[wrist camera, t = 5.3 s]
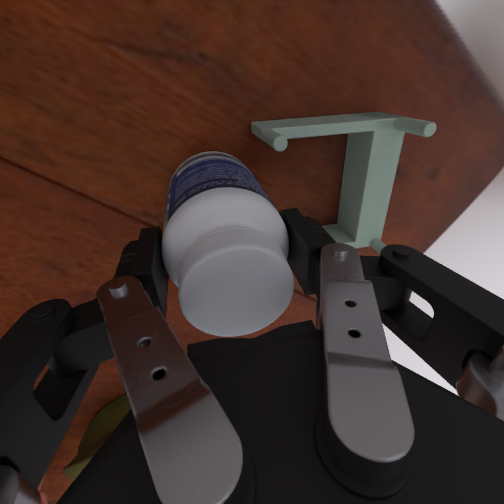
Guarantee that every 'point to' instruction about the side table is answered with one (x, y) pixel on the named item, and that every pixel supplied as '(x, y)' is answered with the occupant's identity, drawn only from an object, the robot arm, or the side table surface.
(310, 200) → the side table surface
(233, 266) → the pill bottle
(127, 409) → the fruit
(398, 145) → the rack
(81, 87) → the side table surface
